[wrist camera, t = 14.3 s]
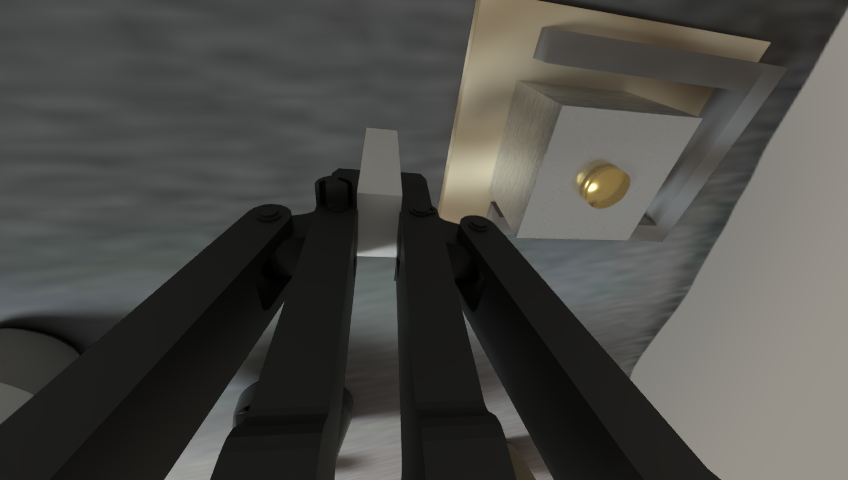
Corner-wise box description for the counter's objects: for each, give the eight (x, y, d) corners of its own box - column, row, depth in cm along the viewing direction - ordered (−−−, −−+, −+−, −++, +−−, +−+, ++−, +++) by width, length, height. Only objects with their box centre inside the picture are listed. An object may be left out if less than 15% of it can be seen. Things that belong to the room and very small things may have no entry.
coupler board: (632, 229, 31) (658, 252, 28) (436, 219, 28) (442, 244, 25) (753, 40, 21) (811, 46, 19) (477, -9, 18) (495, -12, 15)
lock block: (579, 194, 26) (635, 247, 20) (488, 189, 25) (520, 245, 19) (625, 91, 21) (715, 122, 16) (516, 80, 20) (570, 109, 14)
